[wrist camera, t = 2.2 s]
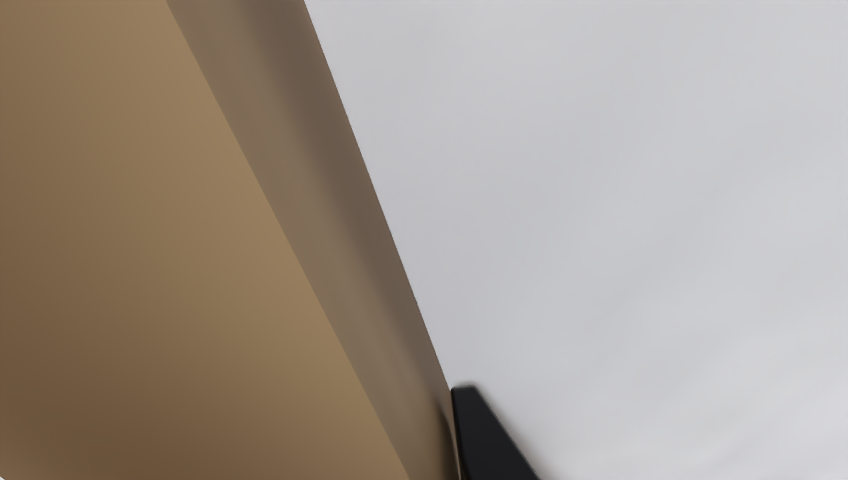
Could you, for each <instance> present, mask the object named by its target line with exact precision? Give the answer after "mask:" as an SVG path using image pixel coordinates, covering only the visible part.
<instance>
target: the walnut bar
mask: <svg viewBox="0 0 848 480" xmlns="http://www.w3.org/2000/svg"><path fill="white" fill-rule="evenodd" d="M0 476H1V477H2V478H3V479H5V480H461V476H460V468H459V460H458V452H457V444H456V436H455V428H454V419H453V411H452V402H451V394H450V390H449V388H448V385H447V382H446V380H445V377H444V374H443V371H442V369H441V366H440V363H439V361H438V358H437V355H436V353H435V350H434V347H433V345H432V342H431V339H430V337H429V334H428V331H427V329H426V326H425V323H424V321H423V318H422V315H421V313H420V310H419V307H418V305H417V302H416V299H415V297H414V294H413V291H412V289H411V286H410V283H409V280H408V278H407V275H406V272H405V270H404V267H403V264H402V262H401V259H400V256H399V254H398V251H397V248H396V246H395V243H394V240H393V238H392V235H391V232H390V230H389V227H388V224H387V222H386V219H385V216H384V214H383V211H382V208H381V206H380V203H379V200H378V198H377V195H376V192H375V190H374V187H373V184H372V181H371V179H370V176H369V173H368V171H367V168H366V165H365V163H364V160H363V157H362V155H361V152H360V149H359V147H358V144H357V141H356V139H355V136H354V133H353V131H352V128H351V125H350V123H349V120H348V117H347V115H346V112H345V109H344V107H343V104H342V101H341V99H340V96H339V93H338V90H337V88H336V85H335V82H334V80H333V77H332V74H331V72H330V69H329V66H328V64H327V61H326V58H325V56H324V53H323V50H322V48H321V45H320V42H319V40H318V37H317V34H316V32H315V29H314V26H313V24H312V21H311V18H310V16H309V13H308V10H307V8H306V5H305V2H304V0H0Z"/></svg>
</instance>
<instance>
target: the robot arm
mask: <svg viewBox="0 0 848 480" xmlns="http://www.w3.org/2000/svg"><path fill="white" fill-rule="evenodd" d="M450 394H451V402H452V411H453V419H454V428H455V436H456V444H457V452H458V460H459V468H460V476H461V480H540V478H539V477H538V476H537V474H536V473H535V471H534V470H533V468H532V467H531V466H530V464H529V463H528V461H527V460H526V458H525V457H524V455H523V454H522V453H521V451H520V450H519V448H518V447H517V445H516V444H515V442H514V441H513V440H512V438H511V437H510V435H509V434H508V432H507V431H506V429H505V428H504V427H503V425H502V424H501V422H500V421H499V419H498V418H497V417H496V415H495V414H494V412H493V411H492V409H491V408H490V406H489V405H488V404H487V402H486V401H485V399H484V398H483V396H482V395H481V393H480V392H479V391H478V389H477V388H476V387H475V386H473V385H467V386H459V387H453V388H452V389H451V391H450Z"/></svg>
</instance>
